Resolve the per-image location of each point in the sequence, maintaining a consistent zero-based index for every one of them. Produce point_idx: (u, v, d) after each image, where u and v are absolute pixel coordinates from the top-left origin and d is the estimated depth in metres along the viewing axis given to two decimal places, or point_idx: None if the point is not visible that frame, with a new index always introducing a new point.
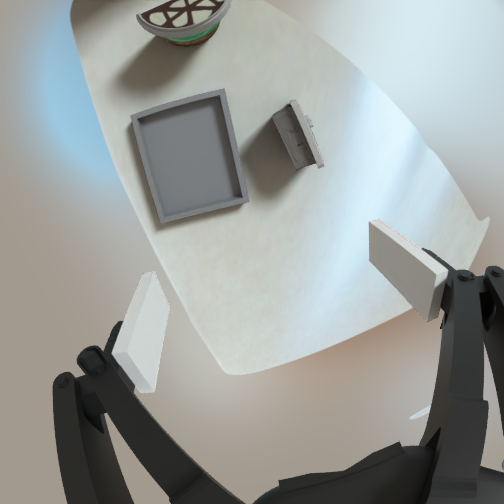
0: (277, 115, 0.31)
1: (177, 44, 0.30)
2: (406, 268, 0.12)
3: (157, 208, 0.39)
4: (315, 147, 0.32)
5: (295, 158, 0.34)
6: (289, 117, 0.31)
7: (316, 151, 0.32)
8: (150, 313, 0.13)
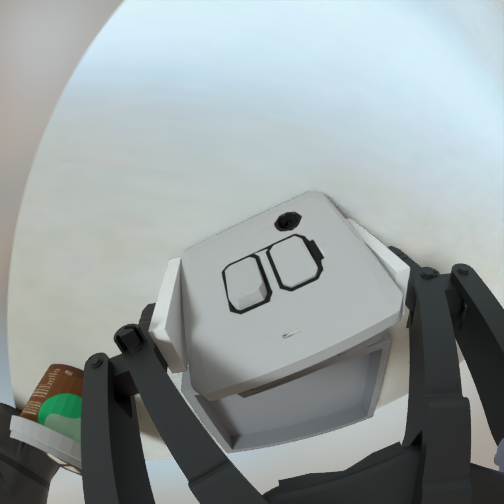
0: (240, 393, 0.12)
1: None
2: None
3: (353, 423, 0.25)
4: (346, 342, 0.09)
5: (356, 348, 0.12)
6: None
7: (359, 336, 0.09)
8: (180, 296, 0.14)
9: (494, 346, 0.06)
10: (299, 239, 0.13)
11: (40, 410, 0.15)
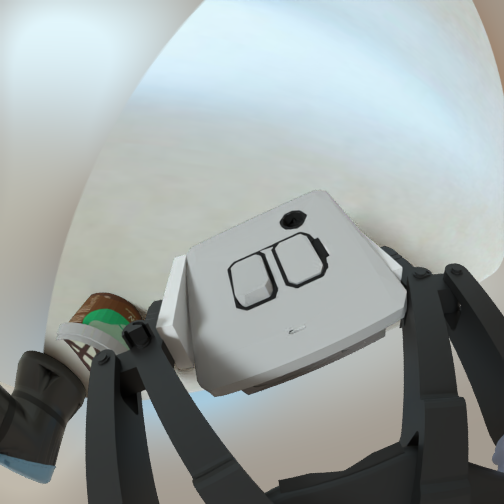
0: (245, 389, 0.12)
1: None
2: None
3: None
4: (352, 337, 0.10)
5: (360, 344, 0.12)
6: None
7: (364, 331, 0.10)
8: (186, 292, 0.14)
9: (489, 346, 0.06)
10: (304, 237, 0.13)
11: (84, 319, 0.26)
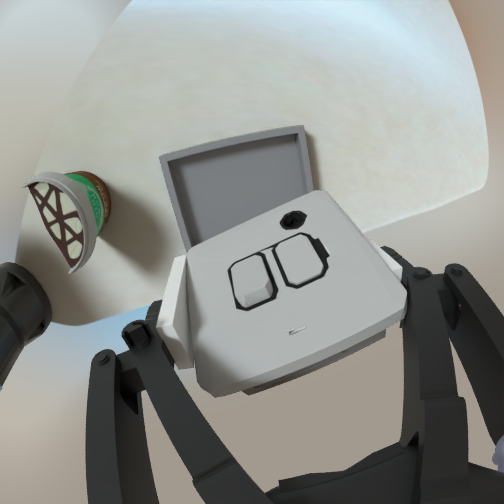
0: (245, 390, 0.12)
1: (108, 213, 0.33)
2: None
3: None
4: (352, 338, 0.10)
5: (360, 345, 0.12)
6: None
7: (364, 332, 0.10)
8: (186, 292, 0.14)
9: (489, 346, 0.06)
10: (304, 237, 0.13)
11: None
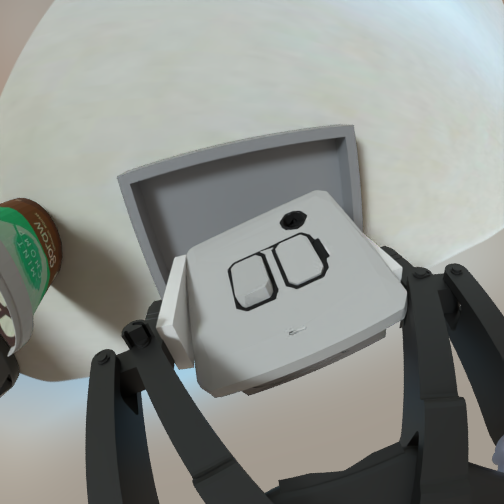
0: (245, 390, 0.12)
1: (58, 259, 0.20)
2: None
3: None
4: (352, 338, 0.10)
5: (360, 345, 0.12)
6: None
7: (364, 332, 0.10)
8: (186, 292, 0.14)
9: (489, 347, 0.06)
10: (305, 238, 0.13)
11: None
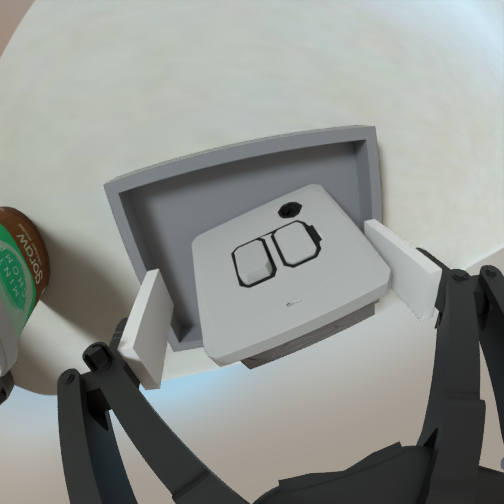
0: (247, 363, 0.14)
1: (45, 274, 0.18)
2: (400, 267, 0.12)
3: None
4: (342, 308, 0.11)
5: (351, 321, 0.14)
6: None
7: (353, 304, 0.11)
8: (155, 310, 0.13)
9: None
10: (300, 224, 0.15)
11: None
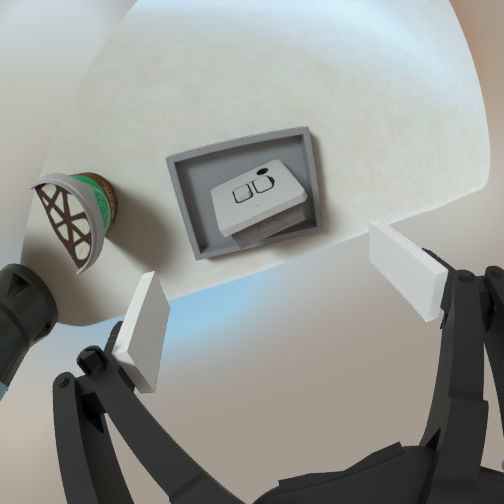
0: (239, 243, 0.29)
1: (115, 214, 0.33)
2: (406, 268, 0.12)
3: (305, 233, 0.36)
4: (280, 205, 0.26)
5: (292, 221, 0.29)
6: (241, 232, 0.28)
7: (286, 204, 0.26)
8: (150, 313, 0.13)
9: None
10: (266, 177, 0.30)
11: None
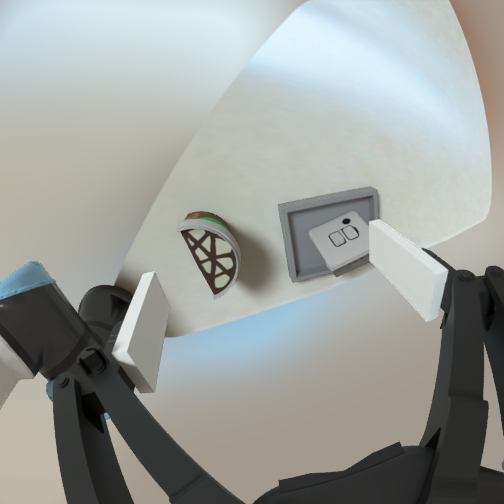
0: (336, 274, 0.42)
1: None
2: (406, 268, 0.12)
3: (367, 262, 0.48)
4: (367, 251, 0.39)
5: None
6: (340, 267, 0.41)
7: None
8: (150, 313, 0.13)
9: None
10: (351, 226, 0.43)
11: None
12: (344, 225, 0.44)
